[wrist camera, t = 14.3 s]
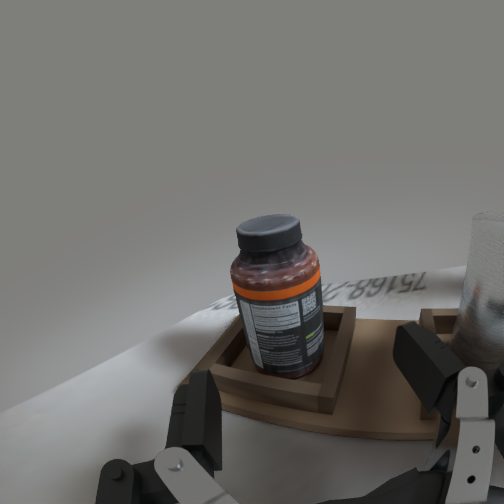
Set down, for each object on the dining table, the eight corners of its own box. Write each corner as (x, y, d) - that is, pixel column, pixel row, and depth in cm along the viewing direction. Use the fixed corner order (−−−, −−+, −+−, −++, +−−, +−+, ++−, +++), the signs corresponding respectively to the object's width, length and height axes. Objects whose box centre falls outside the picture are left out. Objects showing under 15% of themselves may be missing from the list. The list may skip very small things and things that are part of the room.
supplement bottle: (266, 331, 25) (244, 212, 21) (330, 336, 22) (322, 207, 18) (240, 376, 20) (202, 239, 16) (315, 388, 17) (304, 236, 13)
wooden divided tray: (514, 325, 16) (522, 299, 15) (545, 418, 6) (565, 391, 5) (245, 316, 29) (240, 293, 28) (181, 394, 19) (168, 370, 18)
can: (495, 338, 15) (524, 213, 11) (510, 389, 10) (566, 245, 6) (439, 341, 17) (460, 211, 14) (446, 396, 12) (493, 244, 9)
